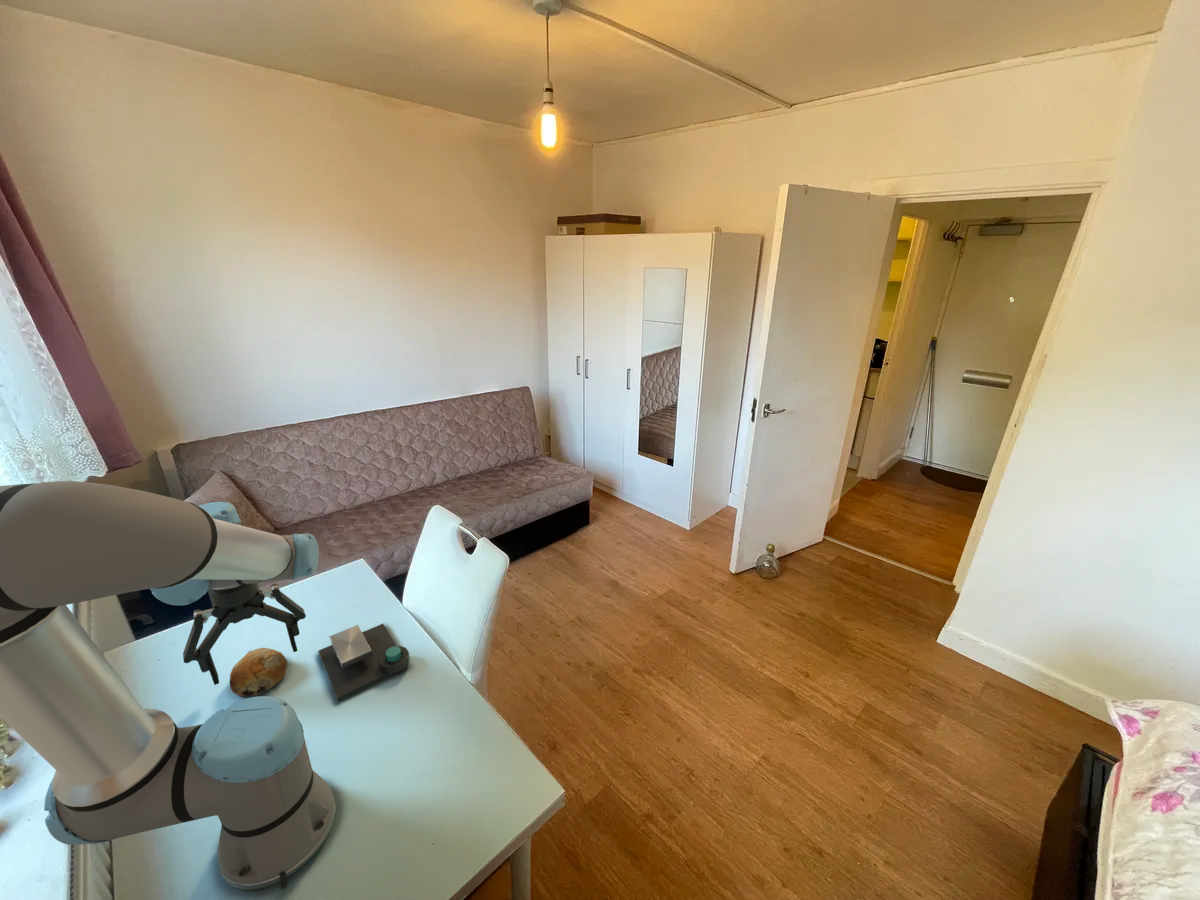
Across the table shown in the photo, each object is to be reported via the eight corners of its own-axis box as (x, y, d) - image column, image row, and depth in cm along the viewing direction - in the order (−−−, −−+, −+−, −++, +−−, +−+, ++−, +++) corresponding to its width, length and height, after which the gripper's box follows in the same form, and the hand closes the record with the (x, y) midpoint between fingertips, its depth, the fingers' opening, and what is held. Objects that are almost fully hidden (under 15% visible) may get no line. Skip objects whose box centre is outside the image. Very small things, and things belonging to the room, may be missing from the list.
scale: (414, 668, 106) (412, 658, 105) (339, 705, 97) (336, 694, 96) (387, 625, 118) (386, 615, 117) (319, 654, 109) (316, 644, 108)
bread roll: (297, 681, 106) (301, 644, 107) (260, 702, 96) (265, 661, 96) (254, 677, 107) (258, 640, 107) (214, 697, 97) (218, 656, 97)
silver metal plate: (372, 655, 105) (371, 650, 105) (342, 669, 102) (341, 663, 101) (358, 629, 112) (357, 624, 112) (330, 641, 109) (329, 636, 108)
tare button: (403, 658, 105) (402, 652, 105) (389, 665, 103) (388, 658, 103) (398, 650, 107) (397, 644, 107) (384, 656, 106) (383, 650, 105)
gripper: (300, 547, 103) (319, 626, 111) (144, 595, 88) (178, 682, 96) (308, 564, 98) (327, 645, 106) (143, 618, 83) (180, 708, 91)
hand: (256, 663), depth 101 cm, fingers open, 13 cm apart
